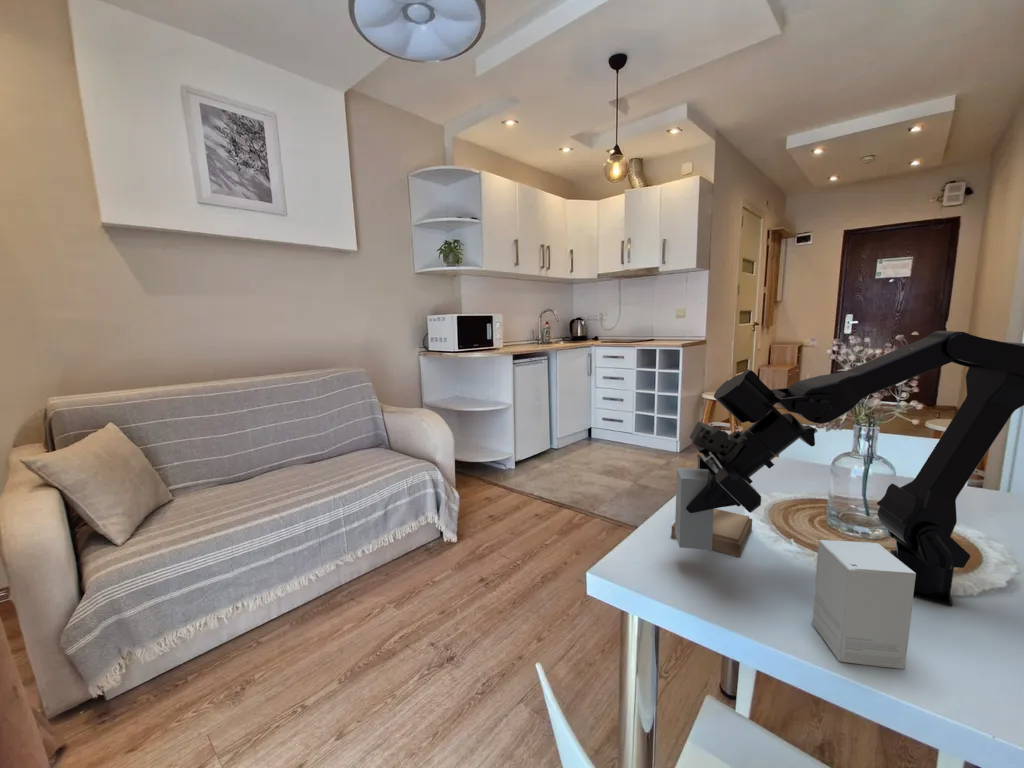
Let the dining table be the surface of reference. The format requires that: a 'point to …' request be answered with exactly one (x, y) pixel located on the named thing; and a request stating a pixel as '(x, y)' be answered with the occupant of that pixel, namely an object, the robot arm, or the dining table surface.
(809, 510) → the dining table surface
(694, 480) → the block
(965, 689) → the dining table surface
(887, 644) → the supplement box
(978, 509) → the dining table surface
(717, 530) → the walnut stand
